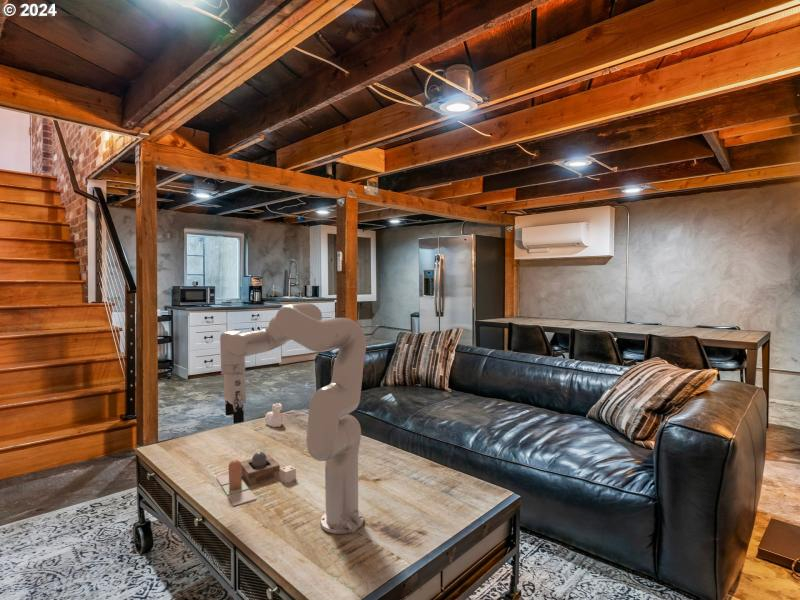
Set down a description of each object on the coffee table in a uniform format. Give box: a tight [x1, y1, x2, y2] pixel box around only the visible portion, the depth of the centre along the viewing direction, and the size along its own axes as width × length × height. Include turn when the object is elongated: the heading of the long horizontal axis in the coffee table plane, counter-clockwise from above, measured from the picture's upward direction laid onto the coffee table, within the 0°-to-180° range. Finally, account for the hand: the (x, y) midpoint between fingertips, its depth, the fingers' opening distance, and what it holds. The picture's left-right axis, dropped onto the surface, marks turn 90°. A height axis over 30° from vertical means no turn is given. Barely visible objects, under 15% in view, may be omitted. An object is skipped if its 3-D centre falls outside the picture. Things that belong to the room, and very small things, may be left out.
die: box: [279, 464, 297, 484], centre depth 154 cm, size 4×4×4 cm
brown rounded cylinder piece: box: [228, 459, 243, 490], centre depth 147 cm, size 4×4×10 cm
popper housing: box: [240, 454, 281, 485], centre depth 158 cm, size 11×11×4 cm
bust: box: [264, 402, 285, 428], centre depth 210 cm, size 12×8×11 cm
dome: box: [251, 451, 267, 469], centre depth 158 cm, size 5×5×6 cm
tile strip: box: [216, 473, 257, 507], centre depth 148 cm, size 23×7×1 cm, turn 36°
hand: (234, 418), depth 146 cm, fingers open, 9 cm apart
